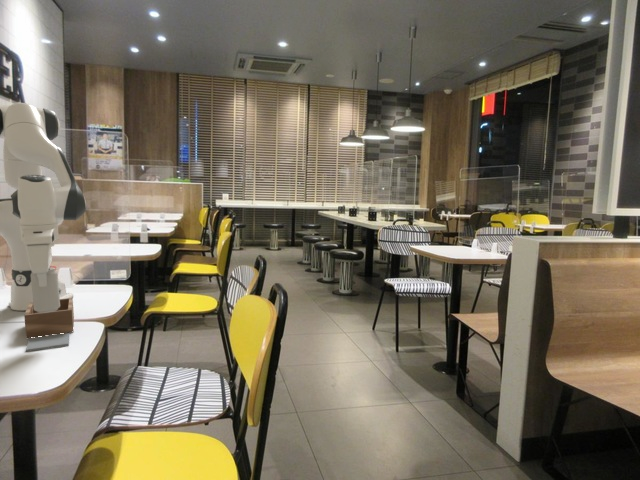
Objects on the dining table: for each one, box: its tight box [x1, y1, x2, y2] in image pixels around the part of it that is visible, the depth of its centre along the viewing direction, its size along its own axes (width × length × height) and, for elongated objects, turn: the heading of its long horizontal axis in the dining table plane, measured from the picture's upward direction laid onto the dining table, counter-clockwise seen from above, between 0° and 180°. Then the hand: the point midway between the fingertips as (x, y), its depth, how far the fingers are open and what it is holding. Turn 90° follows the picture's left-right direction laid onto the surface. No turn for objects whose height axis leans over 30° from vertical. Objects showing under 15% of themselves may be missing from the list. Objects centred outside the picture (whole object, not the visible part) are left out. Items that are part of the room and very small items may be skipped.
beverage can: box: [31, 267, 60, 313], centre depth 123 cm, size 6×6×12 cm
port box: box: [23, 297, 75, 339], centre depth 138 cm, size 16×12×7 cm
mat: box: [25, 333, 70, 353], centre depth 125 cm, size 10×10×1 cm
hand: (44, 283), depth 123 cm, fingers closed on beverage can, 6 cm apart
